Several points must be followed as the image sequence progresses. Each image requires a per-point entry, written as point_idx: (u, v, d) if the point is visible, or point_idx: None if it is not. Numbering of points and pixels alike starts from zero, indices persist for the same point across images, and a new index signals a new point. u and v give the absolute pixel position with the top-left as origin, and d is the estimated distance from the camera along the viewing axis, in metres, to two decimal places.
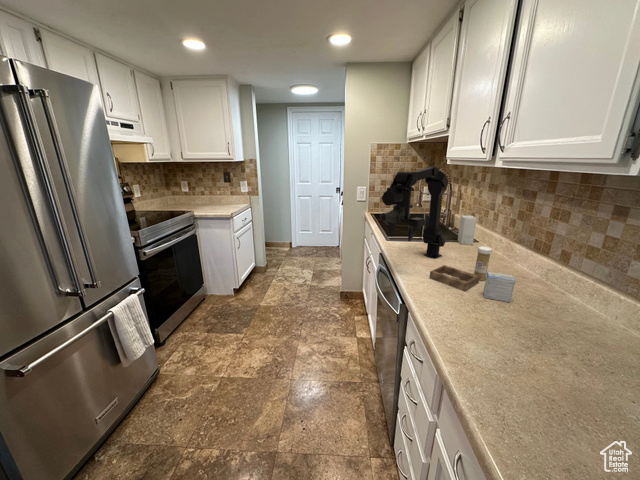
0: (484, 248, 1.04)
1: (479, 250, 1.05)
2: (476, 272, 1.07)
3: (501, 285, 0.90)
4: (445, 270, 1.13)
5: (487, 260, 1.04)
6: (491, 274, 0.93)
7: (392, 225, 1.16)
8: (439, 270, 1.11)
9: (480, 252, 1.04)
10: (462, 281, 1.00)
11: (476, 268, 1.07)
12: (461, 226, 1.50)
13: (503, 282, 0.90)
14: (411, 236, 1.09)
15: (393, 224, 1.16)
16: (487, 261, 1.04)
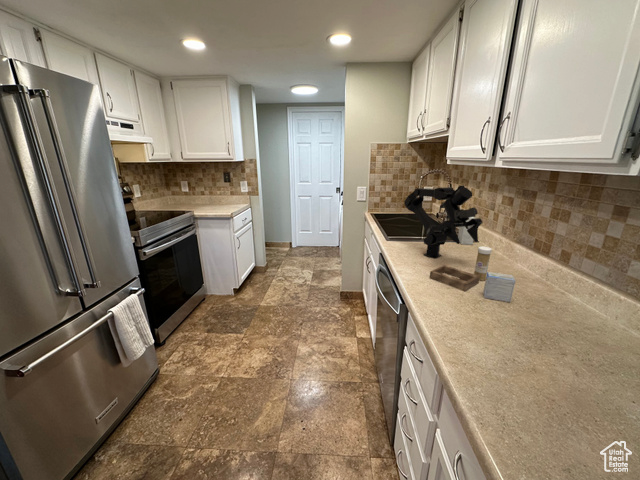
0: (484, 248, 1.04)
1: (479, 250, 1.05)
2: (476, 272, 1.07)
3: (501, 285, 0.90)
4: (445, 270, 1.13)
5: (487, 260, 1.04)
6: (491, 274, 0.93)
7: None
8: (439, 270, 1.11)
9: (480, 252, 1.04)
10: (462, 281, 1.00)
11: (476, 268, 1.07)
12: None
13: (503, 282, 0.90)
14: None
15: None
16: (487, 261, 1.04)
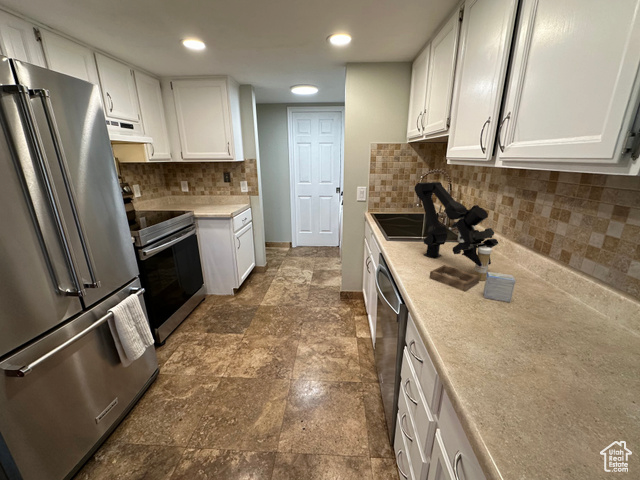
0: (484, 248, 1.04)
1: (479, 250, 1.05)
2: (476, 272, 1.07)
3: (501, 285, 0.90)
4: (445, 270, 1.13)
5: (487, 260, 1.04)
6: (491, 274, 0.93)
7: None
8: (439, 270, 1.11)
9: (480, 252, 1.04)
10: (462, 281, 1.00)
11: (476, 268, 1.07)
12: None
13: (503, 282, 0.90)
14: None
15: None
16: (487, 261, 1.04)
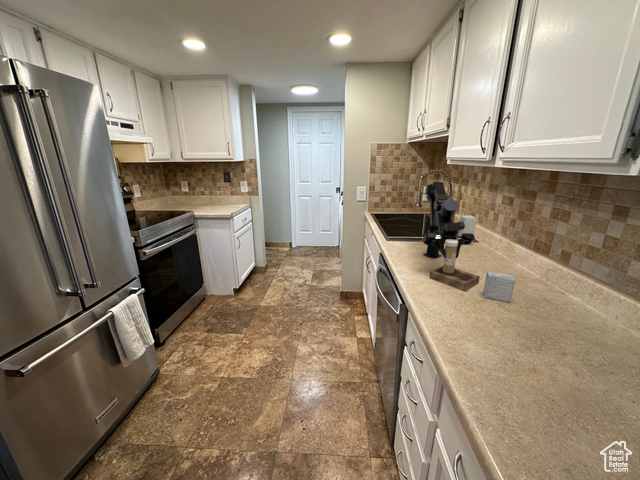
0: (450, 240, 1.04)
1: (445, 242, 1.05)
2: (443, 264, 1.08)
3: (501, 285, 0.90)
4: None
5: (452, 253, 1.04)
6: (491, 274, 0.93)
7: None
8: (439, 270, 1.11)
9: (445, 244, 1.05)
10: (462, 281, 1.00)
11: None
12: None
13: (503, 282, 0.90)
14: None
15: None
16: (452, 254, 1.04)
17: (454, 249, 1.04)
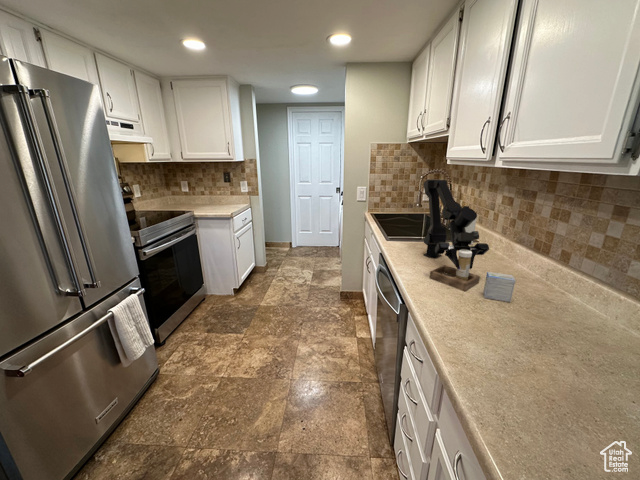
0: (463, 251, 1.01)
1: None
2: (456, 275, 1.04)
3: (501, 285, 0.90)
4: (445, 270, 1.13)
5: (466, 264, 1.00)
6: (491, 274, 0.93)
7: None
8: (439, 270, 1.11)
9: (459, 254, 1.01)
10: (462, 281, 1.00)
11: (456, 271, 1.04)
12: None
13: (503, 282, 0.90)
14: None
15: None
16: (466, 265, 1.00)
17: (468, 260, 1.00)
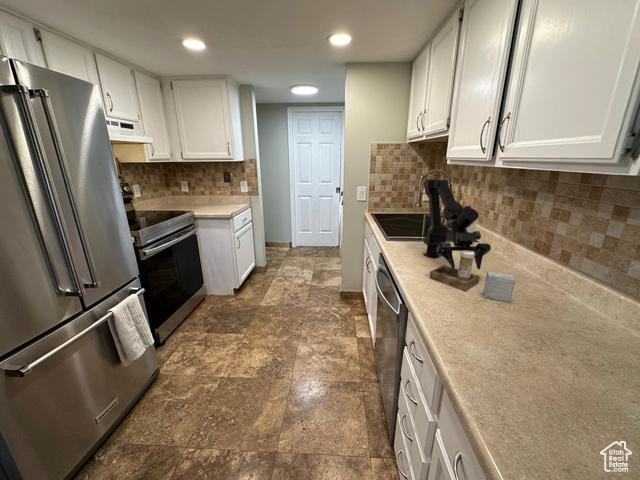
0: (466, 252, 1.00)
1: None
2: (458, 276, 1.04)
3: (501, 285, 0.90)
4: (445, 270, 1.13)
5: (468, 264, 1.00)
6: (491, 274, 0.93)
7: None
8: (439, 270, 1.11)
9: (461, 255, 1.01)
10: (462, 281, 1.00)
11: (458, 272, 1.04)
12: None
13: (503, 282, 0.90)
14: None
15: None
16: (468, 265, 1.00)
17: (470, 261, 1.00)
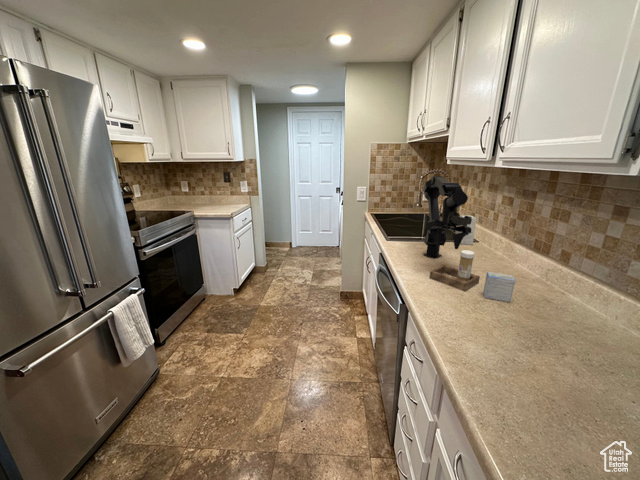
0: (466, 252, 1.00)
1: (461, 253, 1.02)
2: (458, 276, 1.04)
3: (501, 285, 0.90)
4: (445, 270, 1.13)
5: (468, 264, 1.00)
6: (491, 274, 0.93)
7: None
8: (439, 270, 1.11)
9: (461, 255, 1.01)
10: (462, 281, 1.00)
11: (458, 272, 1.04)
12: None
13: (503, 282, 0.90)
14: None
15: None
16: (468, 265, 1.00)
17: (470, 261, 1.00)
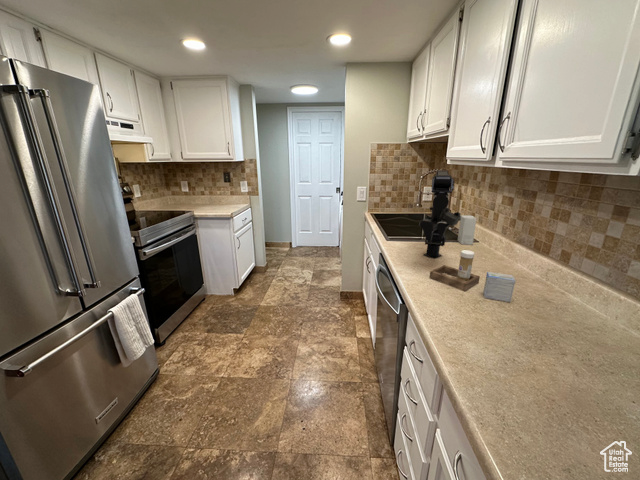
0: (466, 252, 1.00)
1: None
2: (458, 276, 1.04)
3: (501, 285, 0.90)
4: (445, 270, 1.13)
5: (468, 264, 1.00)
6: (491, 274, 0.93)
7: None
8: (439, 270, 1.11)
9: (461, 255, 1.01)
10: (462, 281, 1.00)
11: (458, 272, 1.04)
12: (461, 226, 1.50)
13: (503, 282, 0.90)
14: None
15: None
16: (468, 265, 1.00)
17: (470, 261, 1.00)
